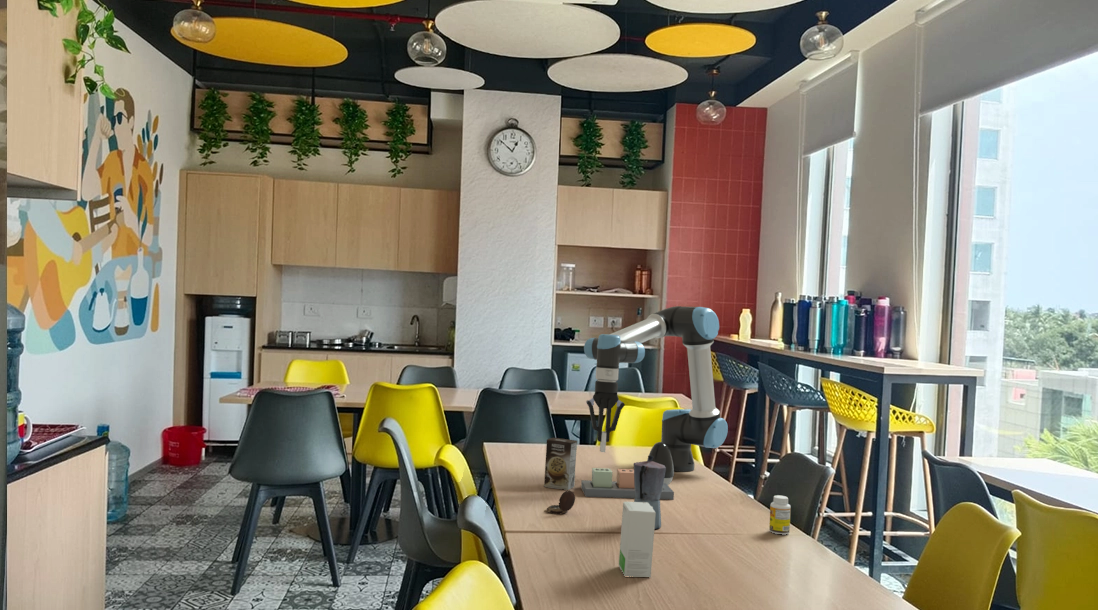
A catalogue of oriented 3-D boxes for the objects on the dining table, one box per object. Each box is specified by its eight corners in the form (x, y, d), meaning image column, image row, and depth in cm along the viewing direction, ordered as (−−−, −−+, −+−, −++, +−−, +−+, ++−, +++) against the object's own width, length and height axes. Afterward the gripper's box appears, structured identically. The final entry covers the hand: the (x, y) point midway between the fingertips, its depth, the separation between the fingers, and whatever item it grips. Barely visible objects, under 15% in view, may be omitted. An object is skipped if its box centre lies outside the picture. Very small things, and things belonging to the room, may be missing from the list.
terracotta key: (634, 484, 271) (634, 468, 271) (637, 488, 265) (638, 472, 265) (616, 483, 270) (617, 468, 270) (619, 487, 264) (620, 471, 265)
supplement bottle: (770, 529, 232) (772, 493, 232) (790, 531, 230) (792, 496, 230) (768, 533, 227) (769, 497, 227) (788, 536, 225) (790, 500, 225)
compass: (556, 508, 244) (557, 484, 244) (575, 513, 238) (576, 489, 238) (537, 512, 238) (538, 487, 238) (556, 517, 233) (557, 492, 233)
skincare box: (618, 566, 191) (621, 500, 191) (645, 566, 192) (648, 501, 192) (624, 578, 183) (628, 509, 183) (653, 578, 183) (656, 510, 183)
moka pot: (667, 522, 233) (670, 453, 234) (657, 535, 219) (660, 462, 219) (635, 517, 237) (638, 450, 237) (622, 530, 222) (626, 458, 222)
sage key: (609, 483, 270) (609, 467, 270) (611, 487, 264) (612, 471, 264) (591, 482, 270) (592, 467, 270) (593, 486, 264) (594, 470, 264)
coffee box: (543, 487, 271) (545, 439, 271) (550, 483, 277) (552, 436, 277) (568, 490, 268) (571, 442, 268) (575, 487, 274) (577, 439, 274)
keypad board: (665, 490, 275) (665, 483, 275) (673, 499, 262) (673, 492, 262) (581, 487, 273) (581, 480, 273) (585, 496, 260) (585, 488, 260)
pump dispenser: (672, 482, 288) (674, 440, 288) (674, 489, 278) (676, 445, 278) (643, 480, 289) (646, 438, 289) (644, 487, 279) (646, 443, 279)
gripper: (588, 380, 263) (584, 452, 263) (627, 382, 264) (623, 454, 264) (586, 378, 271) (581, 448, 270) (624, 380, 271) (620, 450, 271)
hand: (602, 451), depth 267 cm, fingers closed
